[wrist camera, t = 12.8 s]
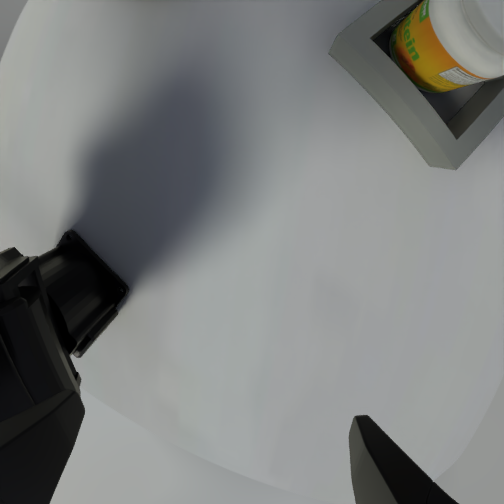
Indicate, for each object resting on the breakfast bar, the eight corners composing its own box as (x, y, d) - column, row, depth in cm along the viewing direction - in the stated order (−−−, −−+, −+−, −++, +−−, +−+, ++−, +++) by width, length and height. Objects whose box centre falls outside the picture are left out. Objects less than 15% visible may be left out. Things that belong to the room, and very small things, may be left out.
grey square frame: (328, 53, 17) (338, 34, 13) (415, -15, 14) (434, -35, 11) (429, 166, 18) (456, 170, 15) (501, 88, 16) (530, 83, 12)
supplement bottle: (384, 14, 15) (447, -58, 6) (453, 32, 15) (536, -13, 6) (389, 86, 17) (472, 44, 8) (459, 101, 17) (557, 84, 7)
